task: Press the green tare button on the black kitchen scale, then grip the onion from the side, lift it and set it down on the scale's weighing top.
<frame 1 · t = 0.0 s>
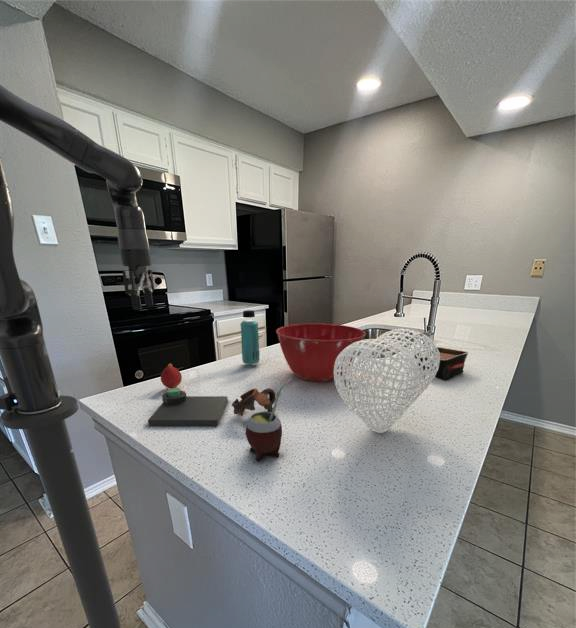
hand: (143, 307, 94), 23 cm above the countertop, tool pointing down, fingers open, 8 cm apart
mixing bowl: (318, 375, 109), on the countertop
mate gourd: (266, 453, 64), on the countertop
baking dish: (438, 373, 112), on the countertop
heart: (380, 432, 73), on the countertop
scale: (191, 412, 81), on the countertop
onion: (172, 390, 96), on the countertop
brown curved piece: (258, 417, 79), on the countertop
beverage bottle: (251, 365, 119), on the countertop
tare button: (173, 392, 84), point 4 cm above the countertop, slide at 0.1 cm
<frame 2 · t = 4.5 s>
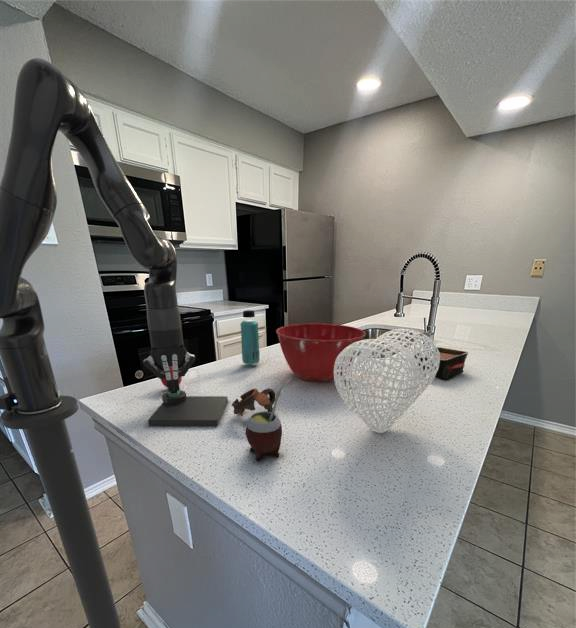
hand: (174, 392, 84), 4 cm above the countertop, tool pointing down, fingers closed
tare button: (174, 394, 84), point 3 cm above the countertop, slide at -0.4 cm, touching gripper
everything else where it was.
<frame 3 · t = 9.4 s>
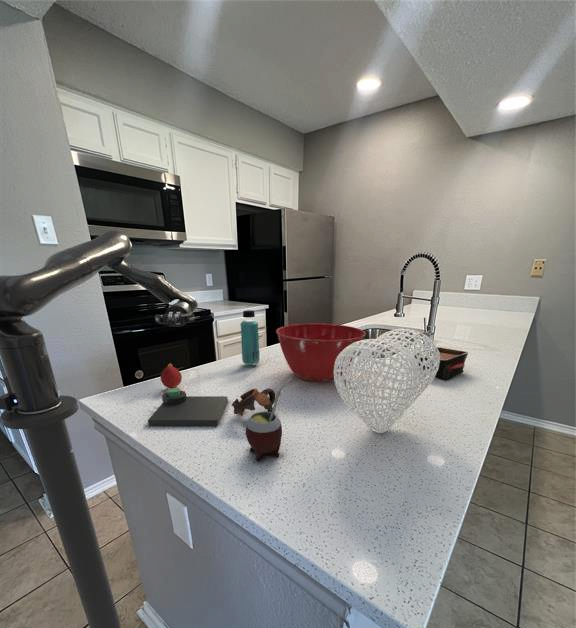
hand: (170, 323, 98), 18 cm above the countertop, tool horizontal, fingers closed
tare button: (173, 392, 84), point 4 cm above the countertop, slide at 0.1 cm
everything else where it was.
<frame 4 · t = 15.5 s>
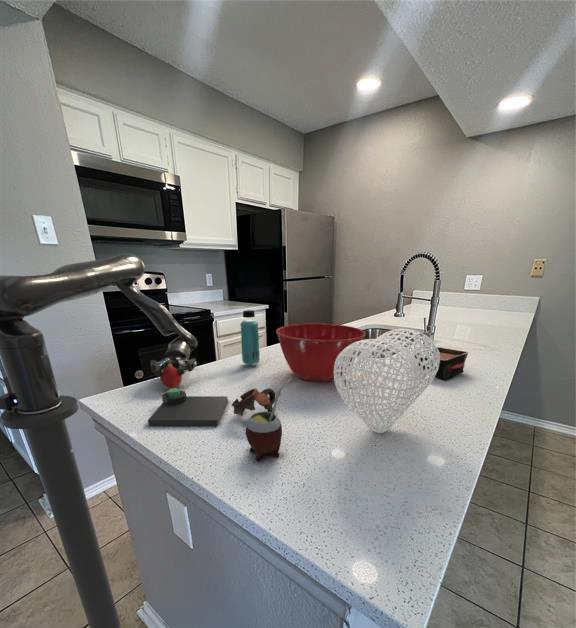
hand: (168, 373, 91), 6 cm above the countertop, tool horizontal, fingers closed on onion, 5 cm apart
onion: (172, 390, 96), on the countertop, touching gripper
everything else where it was.
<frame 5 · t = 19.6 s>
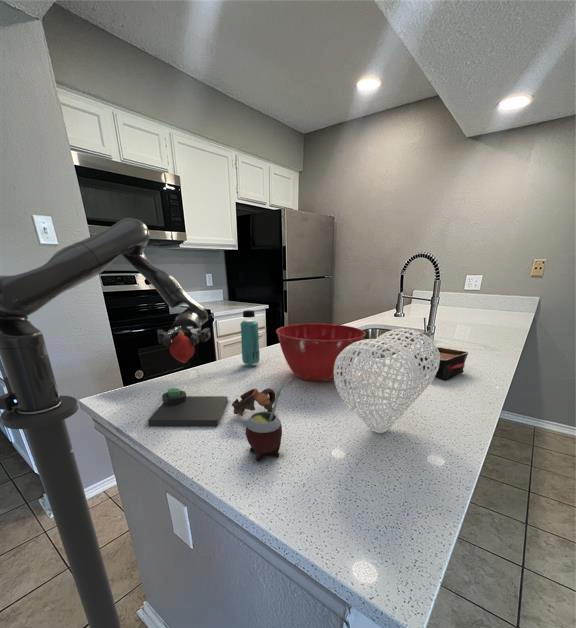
hand: (180, 342, 77), 18 cm above the countertop, tool horizontal, fingers closed on onion, 5 cm apart
onion: (184, 363, 82), point 12 cm above the countertop, touching gripper
everything else where it was.
when the fingers open (8 cm above the countertop, at t = 24.0 s): onion stays where it is, resting on scale.
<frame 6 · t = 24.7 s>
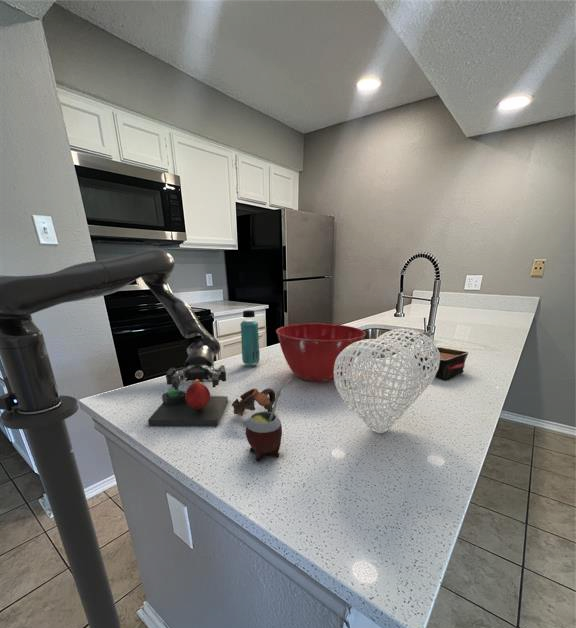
hand: (194, 384, 74), 9 cm above the countertop, tool horizontal, fingers open, 8 cm apart
onion: (199, 411, 79), point 1 cm above the countertop, touching scale
everything else where it was.
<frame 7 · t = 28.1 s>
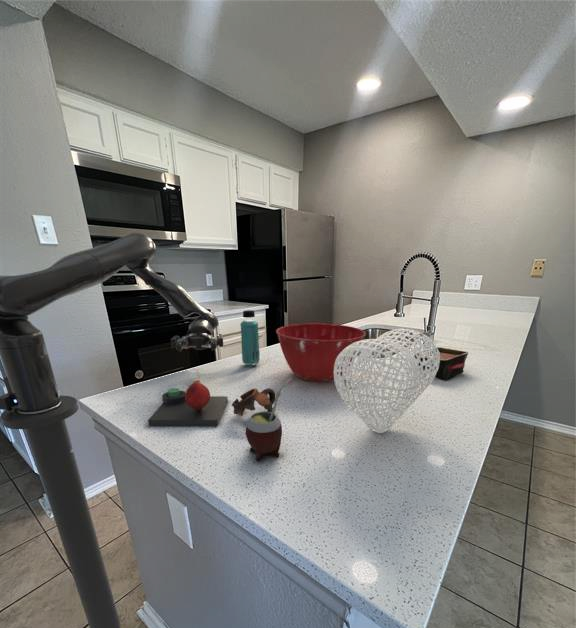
hand: (195, 347, 86), 14 cm above the countertop, tool horizontal, fingers open, 8 cm apart
nothing on the countertop moved.
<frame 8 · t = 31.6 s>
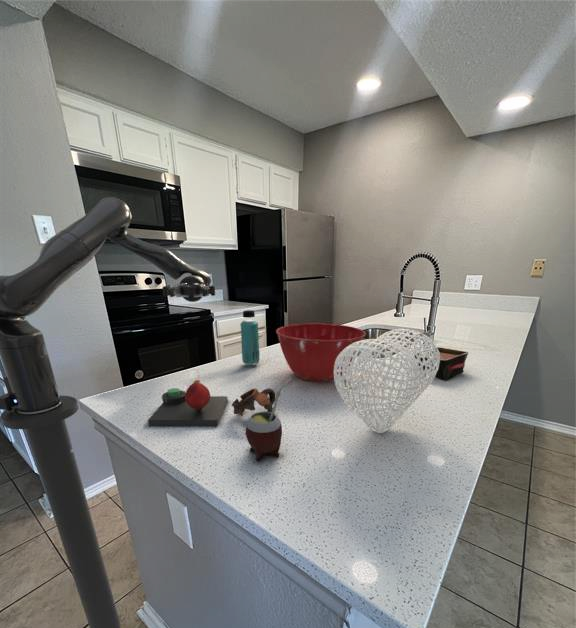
hand: (187, 292, 86), 28 cm above the countertop, tool horizontal, fingers open, 8 cm apart
nothing on the countertop moved.
at the end: tare button pushed in 0.9 cm at the most during the clip, back to where it started at the end; onion inside the target area on the scale (2.9 cm from its centre), point 1.4 cm above the scale's base; onion touching scale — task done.
